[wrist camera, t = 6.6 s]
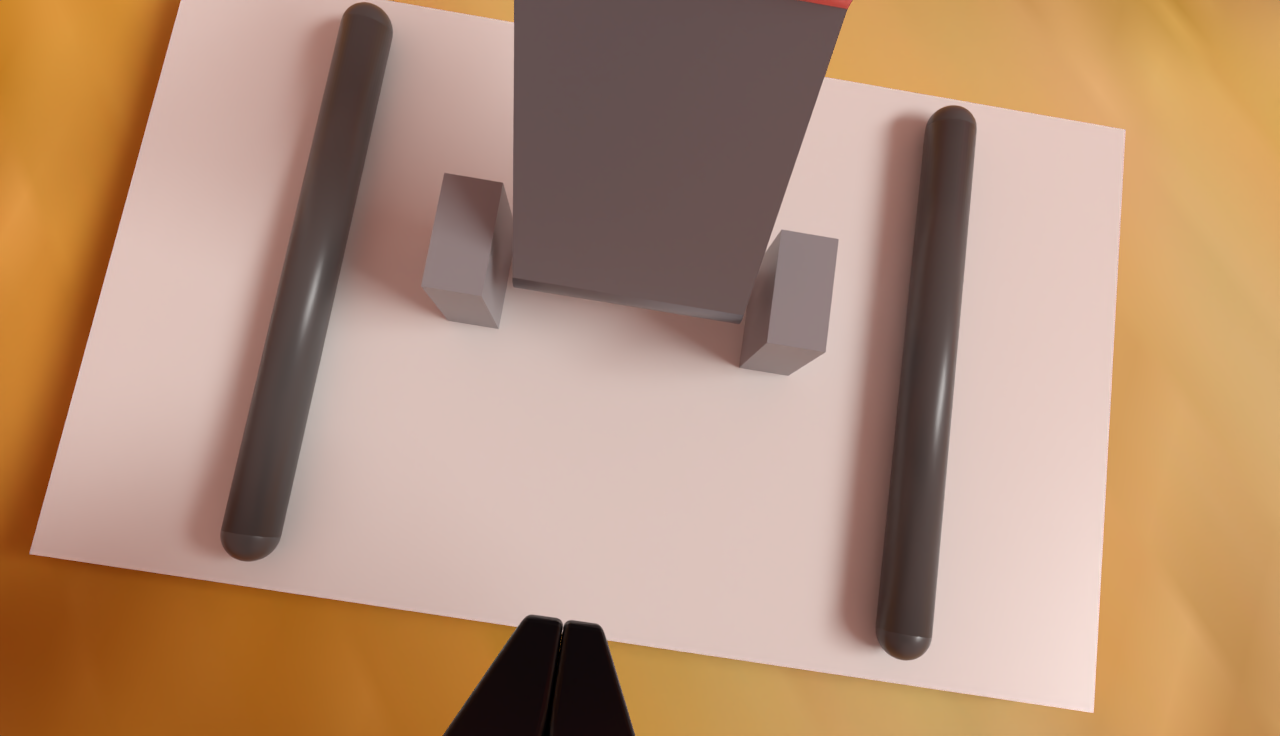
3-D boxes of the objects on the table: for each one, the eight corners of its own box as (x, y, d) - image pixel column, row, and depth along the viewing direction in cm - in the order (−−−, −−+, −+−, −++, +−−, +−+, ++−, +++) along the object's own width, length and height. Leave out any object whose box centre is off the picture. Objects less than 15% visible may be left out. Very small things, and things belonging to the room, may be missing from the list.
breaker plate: (1058, 697, 17) (1193, 754, 13) (70, 550, 16) (-89, 565, 12) (1091, 153, 19) (1217, 66, 15) (216, 1, 18) (118, -130, 14)
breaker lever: (735, 346, 14) (889, -103, 9) (510, 309, 14) (511, -172, 8) (738, 282, 15) (876, -158, 10) (527, 247, 15) (539, -222, 9)
